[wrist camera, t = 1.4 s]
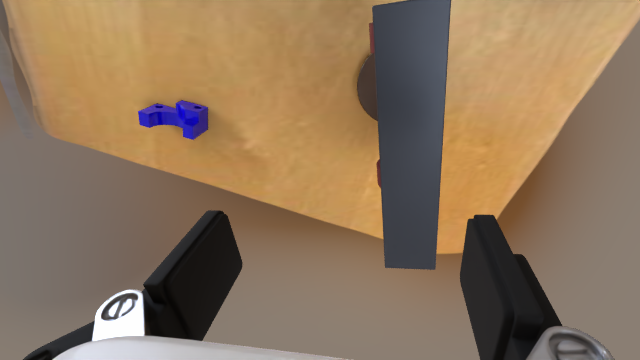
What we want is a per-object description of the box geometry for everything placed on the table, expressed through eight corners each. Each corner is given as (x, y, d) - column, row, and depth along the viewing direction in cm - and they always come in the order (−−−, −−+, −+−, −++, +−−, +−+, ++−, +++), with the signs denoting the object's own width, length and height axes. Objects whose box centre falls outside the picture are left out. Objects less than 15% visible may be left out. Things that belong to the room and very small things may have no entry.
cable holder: (207, 107, 44) (192, 115, 40) (207, 129, 46) (193, 139, 42) (156, 93, 44) (136, 100, 41) (158, 116, 46) (139, 125, 43)
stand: (445, 32, 34) (503, 63, 17) (440, 120, 38) (482, 212, 21) (354, 44, 36) (324, 81, 19) (361, 125, 41) (341, 212, 24)
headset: (432, -4, 26) (470, -10, 14) (426, 176, 34) (447, 270, 22) (370, 6, 27) (355, 8, 15) (379, 178, 35) (374, 267, 23)
